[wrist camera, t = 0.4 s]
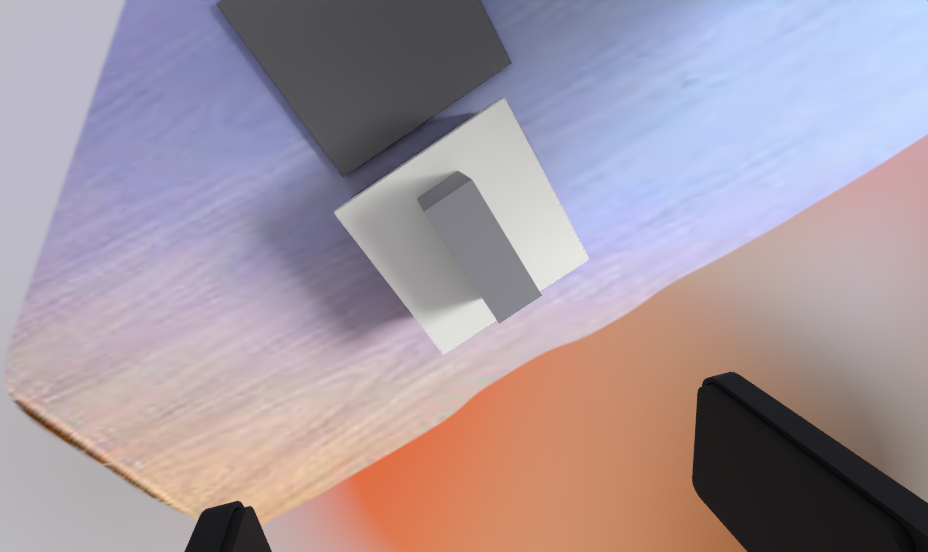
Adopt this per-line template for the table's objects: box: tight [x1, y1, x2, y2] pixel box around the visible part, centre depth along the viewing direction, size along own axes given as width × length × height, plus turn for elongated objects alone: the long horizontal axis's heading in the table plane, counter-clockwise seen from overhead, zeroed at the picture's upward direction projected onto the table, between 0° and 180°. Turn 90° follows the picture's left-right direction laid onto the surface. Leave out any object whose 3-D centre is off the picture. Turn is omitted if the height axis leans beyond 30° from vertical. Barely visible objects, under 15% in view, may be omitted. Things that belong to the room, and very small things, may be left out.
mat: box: [217, 0, 511, 177], centre depth 28 cm, size 14×12×1 cm
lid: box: [334, 98, 589, 355], centre depth 26 cm, size 12×12×5 cm
